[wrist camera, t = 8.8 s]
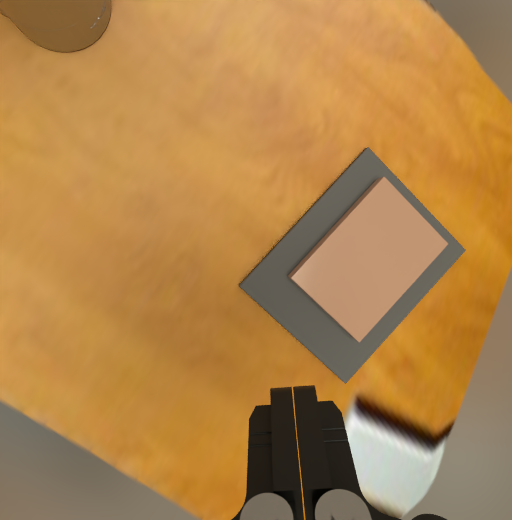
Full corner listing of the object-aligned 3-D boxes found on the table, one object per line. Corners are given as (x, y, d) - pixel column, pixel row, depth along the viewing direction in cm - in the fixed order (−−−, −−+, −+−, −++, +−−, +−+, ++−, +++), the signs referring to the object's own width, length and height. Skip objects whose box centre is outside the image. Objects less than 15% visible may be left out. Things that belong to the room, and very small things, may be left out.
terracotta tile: (359, 342, 39) (448, 243, 40) (291, 278, 38) (384, 176, 39) (352, 337, 41) (437, 243, 42) (286, 275, 40) (375, 179, 41)
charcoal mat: (343, 380, 42) (345, 383, 42) (238, 285, 40) (239, 286, 39) (461, 249, 43) (465, 250, 42) (365, 148, 41) (368, 147, 40)
